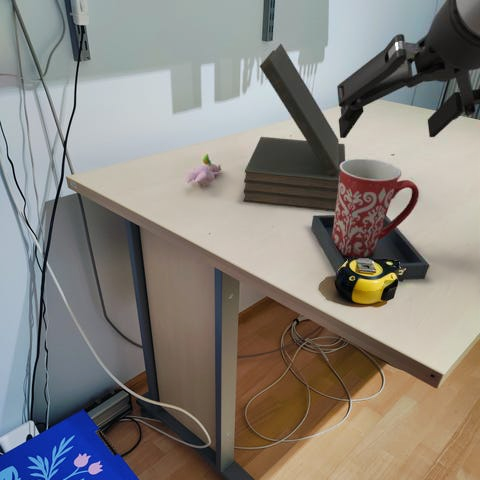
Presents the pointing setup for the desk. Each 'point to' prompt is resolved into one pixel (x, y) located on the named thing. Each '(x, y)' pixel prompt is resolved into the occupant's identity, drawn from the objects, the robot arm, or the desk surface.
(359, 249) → the mug
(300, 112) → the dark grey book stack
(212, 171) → the pink toy figure
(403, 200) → the desk surface
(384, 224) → the tray
